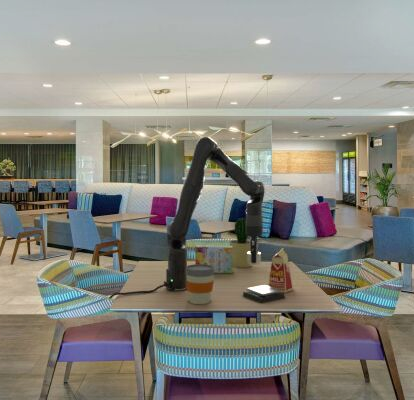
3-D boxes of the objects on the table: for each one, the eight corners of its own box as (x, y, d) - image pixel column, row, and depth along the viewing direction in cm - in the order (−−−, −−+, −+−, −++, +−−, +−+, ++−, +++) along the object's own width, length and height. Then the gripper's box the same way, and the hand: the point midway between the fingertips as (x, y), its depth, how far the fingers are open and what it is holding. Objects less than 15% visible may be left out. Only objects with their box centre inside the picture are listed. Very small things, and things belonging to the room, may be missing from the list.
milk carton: (276, 286, 202) (276, 246, 201) (293, 289, 196) (293, 248, 195) (267, 290, 195) (267, 248, 194) (284, 293, 189) (285, 250, 188)
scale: (260, 302, 175) (261, 296, 174) (243, 296, 185) (243, 290, 185) (284, 297, 182) (284, 291, 182) (266, 291, 192) (266, 285, 192)
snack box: (232, 271, 234) (232, 245, 233) (232, 273, 228) (232, 247, 228) (196, 270, 236) (196, 245, 235) (195, 272, 230) (195, 246, 230)
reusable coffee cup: (212, 296, 184) (213, 264, 183) (215, 305, 171) (215, 270, 170) (185, 297, 183) (185, 264, 182) (185, 305, 171) (185, 270, 170)
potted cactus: (255, 263, 256) (256, 216, 254) (252, 268, 241) (253, 218, 239) (231, 262, 260) (231, 215, 258) (227, 267, 245) (227, 217, 244)
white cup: (253, 265, 180) (253, 254, 180) (244, 263, 185) (244, 252, 185) (263, 263, 183) (263, 253, 183) (254, 261, 189) (254, 251, 188)
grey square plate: (262, 295, 176) (262, 293, 176) (246, 289, 185) (246, 288, 185) (281, 292, 181) (281, 290, 181) (264, 286, 191) (264, 284, 191)
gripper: (247, 222, 191) (247, 258, 192) (244, 226, 177) (244, 264, 178) (263, 222, 190) (263, 258, 191) (261, 226, 176) (261, 264, 176)
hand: (254, 261), depth 184 cm, fingers closed on white cup, 6 cm apart
